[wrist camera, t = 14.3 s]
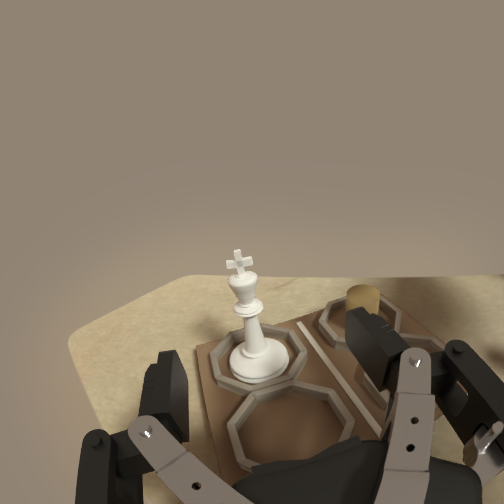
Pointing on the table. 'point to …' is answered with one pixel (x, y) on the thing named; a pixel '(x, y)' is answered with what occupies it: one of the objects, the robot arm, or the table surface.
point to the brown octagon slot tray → (301, 387)
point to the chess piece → (253, 330)
